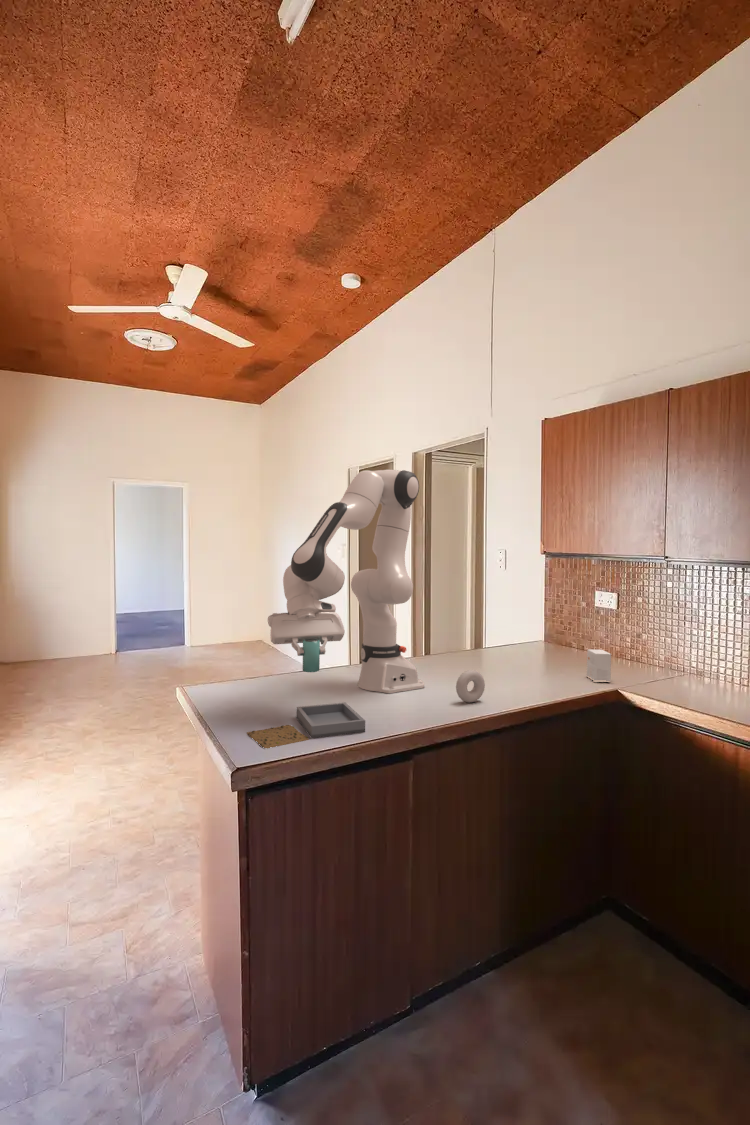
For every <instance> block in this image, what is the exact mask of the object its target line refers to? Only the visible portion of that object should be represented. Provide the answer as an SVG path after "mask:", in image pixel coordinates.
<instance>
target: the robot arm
mask: <svg viewBox="0 0 750 1125" xmlns="http://www.w3.org/2000/svg"><path fill="white" fill-rule="evenodd" d="M419 491H420V482H419V479H418V477H417V475H416V474H415V473H414V472H412V471H410V470H404V469H403V470H399V469H398V470H397V469H378V470H365V469H364V470H362V471H361V470H360V472H358V473H357V474H356V475H355V476H354V477H353V479H352V480H351V481H350V483H349V485H348V487H347V489H346V490H345V492H344V494H343V496H342V498H341V499H340V501H337V502H334V503H333V504H331V505H330V506H329V507H328V508H327V509H326V511H324V513H323V514H322V515H321V517H320V519H319V520H318V522H317V523H316V525H315V526H314V527H313V529H312V531H311V532H310V533H309V535H308V536H307V537H306V539H305V540H304V542H303V543H302V544H301V545H300V546H299V547H298V548H296V550H295V551H294V553H293V555H292V556H291V560H290V561H291V562H290V565H289V566H287V568H285V571H284V573H283V579H282V583H283V584H282V585H283V593H284V597H285V599H286V610H287V612H280V613H279V612H278V613H277V612H274V613H273V612H272V614H270V615H268V617H267V623H268V626H269V627H270V633H269V634H270V642H271V643H272V644H274V645H287V644H289V645H291V647H292V648H293V649H294V651H296V653H297V657H303V654H304V650H303V646H300V645H299V644H303V640H305V639H318V640H320V656H321V655H326V652H327V650H326V644H327V642H340V641H341V640H343V638H344V636H345V634H346V633H345V627H344V623H343V621H342V619H341V616H340V615H339V613H337V612H336V608H337V607H336V605H335V604H334V603H329V602H325V601H323V599H324V600H325V599H327V598H329V597H331V596H334V595H336V594H337V593H339V592H340V591H341V590H342V588H343V587H344V584H345V580H346V578H345V573H344V571H343V570H342V569H341V568H340V566H338V565H337V563H335V562H334V560H332V559H331V558H330V557H329V556H328V553H327V547H328V545H329V544H330V543H331V540H332V539H333V537H335V534H336V532H338V530H339V529H340V528H341V527H342V528H344V529H347V530H352V531H356V530H357V531H358V530H362V529H365V528H366V527H369V524H371V523H372V520H373V519H374V517H375V515H376V512H377V509H378V508H379V505H381V510H380V512H379V515H378V519H377V523H376V528H375V532H374V537H373V542H372V546H371V549H372V552H373V553H374V555H375V557H376V561H377V562H376V563H377V565H376V566H377V568H366V569H361V570H358V571H357V572H356V573H354V574H353V575H352V577H351V583H350V588H351V591H352V593H353V594H354V596H355V597H356V598H357V601H358V604H359V608H360V611H361V615H362V623H363V625H362V626H363V628H362V631H363V633H362V634H363V635H362V636H363V637H362V640H363V642H362V644H361V650H360V656H361V657H360V658H361V669H360V673H359V674H360V675H359V678H358V682H357V685H356V686H357V687H358V688H359V689H362V690H366V691H370V692H380V693H384V694H393V693H399V692H405V691H406V692H407V691H410V690H411V691H412V690H417V689H424V688H425V682H424V681H423V680H421V679H420V678H419V675H418V674H419V673H418V671H417V668H416V666H415V665H414V664H413V663H412V662H410V661H409V660H408V659H406V658H405V657H404V656H403V655H402V653H406V652H407V647H406V646H404V645H399V644H398V643H397V629H398V628H397V626H398V623H397V619H396V618H395V617H394V615H393V614H392V611H391V610H390V606H389V605H391V606H393V605H400V604H405V603H406V602H408V601H409V600H410V598H412V595H413V590H414V584H413V581H412V579H411V577H410V576H409V575H408V572H407V567H406V558H405V557H406V550H407V545H408V544H407V542H408V539H409V538H408V537H409V532H410V527H411V519H412V518H411V517H412V516H411V515H412V513H411V512H412V508H411V506H412V505H413V503H414V502H415V500H416V499H417V496H418V495H419V493H420V492H419Z"/></svg>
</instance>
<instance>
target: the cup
mask: <svg viewBox="0 0 750 1125" xmlns="http://www.w3.org/2000/svg"><path fill="white" fill-rule="evenodd" d="M320 646H321V642H320V640H318V639H305V640H303V643H302V647H303V650H304V654H303V656H302V672H305V673H316V672H319V671H320V657H321V655H320Z"/></svg>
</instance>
